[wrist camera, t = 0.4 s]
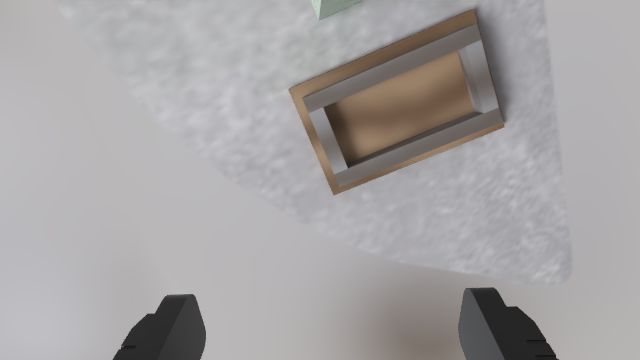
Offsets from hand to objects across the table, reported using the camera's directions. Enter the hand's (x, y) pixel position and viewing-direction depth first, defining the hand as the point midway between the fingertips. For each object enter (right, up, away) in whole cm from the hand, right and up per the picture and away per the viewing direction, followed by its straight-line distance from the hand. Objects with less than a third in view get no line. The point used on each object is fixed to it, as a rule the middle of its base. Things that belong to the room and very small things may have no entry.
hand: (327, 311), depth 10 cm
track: (+8, +11, +25) cm, 29 cm away
